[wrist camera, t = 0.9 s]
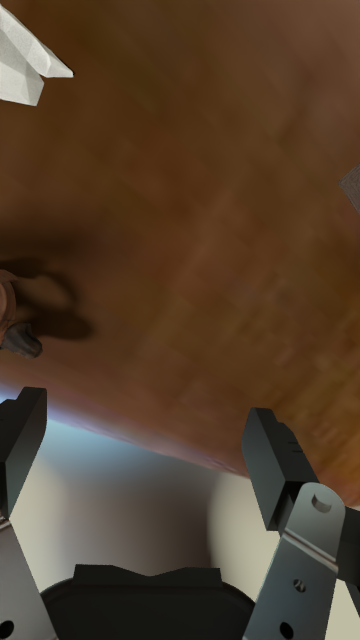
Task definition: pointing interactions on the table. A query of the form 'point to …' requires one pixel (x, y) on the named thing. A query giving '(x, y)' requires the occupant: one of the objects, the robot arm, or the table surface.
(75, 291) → the table surface
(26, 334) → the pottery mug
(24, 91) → the cloth
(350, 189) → the block
